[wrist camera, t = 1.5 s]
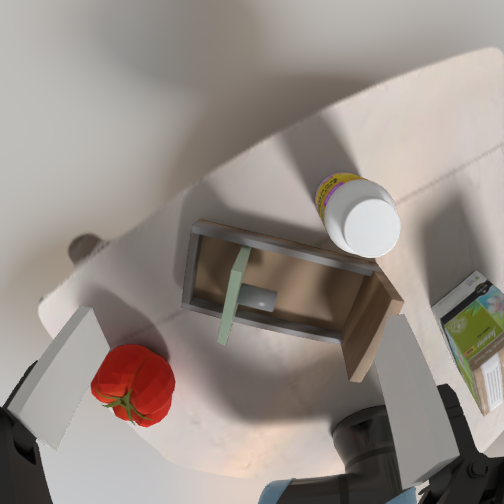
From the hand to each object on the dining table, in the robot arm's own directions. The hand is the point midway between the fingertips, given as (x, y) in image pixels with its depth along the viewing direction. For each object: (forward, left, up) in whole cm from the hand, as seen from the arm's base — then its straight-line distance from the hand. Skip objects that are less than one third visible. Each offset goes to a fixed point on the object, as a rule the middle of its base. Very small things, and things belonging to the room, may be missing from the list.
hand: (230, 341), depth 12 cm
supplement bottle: (-8, -4, -24) cm, 26 cm away
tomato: (+14, +29, -24) cm, 40 cm away
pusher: (-1, +8, -22) cm, 24 cm away
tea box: (-35, +7, -24) cm, 43 cm away
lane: (-4, +8, -24) cm, 25 cm away
